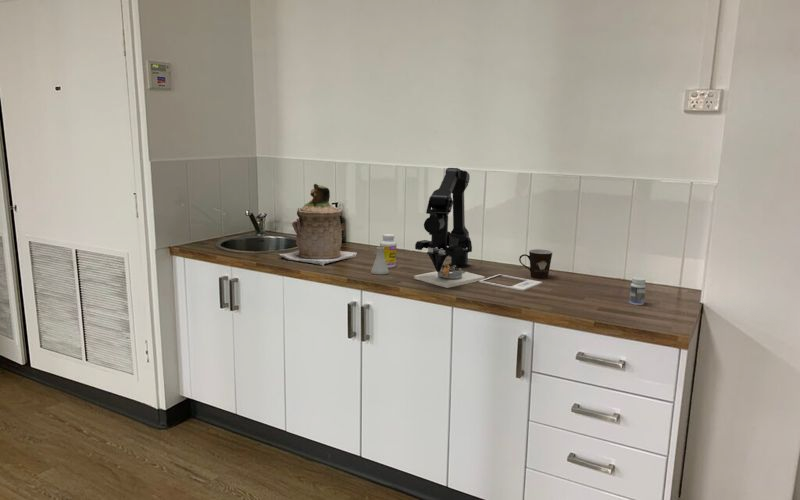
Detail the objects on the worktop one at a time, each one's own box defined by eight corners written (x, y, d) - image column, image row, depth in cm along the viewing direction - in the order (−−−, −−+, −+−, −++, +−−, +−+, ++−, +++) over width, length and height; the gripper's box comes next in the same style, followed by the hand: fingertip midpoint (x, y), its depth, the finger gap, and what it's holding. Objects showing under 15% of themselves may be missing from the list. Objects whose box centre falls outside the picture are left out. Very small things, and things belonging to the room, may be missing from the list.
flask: (387, 275, 233) (387, 249, 231) (368, 274, 235) (368, 248, 233) (391, 271, 240) (391, 246, 238) (373, 270, 242) (373, 245, 240)
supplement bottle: (389, 268, 245) (389, 236, 242) (376, 266, 249) (376, 234, 246) (399, 266, 250) (400, 234, 247) (386, 263, 254) (387, 232, 251)
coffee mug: (552, 276, 237) (554, 250, 235) (548, 280, 230) (550, 254, 228) (522, 272, 242) (524, 247, 240) (517, 277, 234) (518, 251, 232)
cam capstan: (442, 270, 236) (443, 256, 235) (466, 272, 234) (466, 258, 233) (432, 279, 222) (432, 265, 221) (457, 282, 219) (457, 267, 218)
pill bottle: (626, 301, 204) (628, 276, 202) (640, 301, 204) (642, 276, 203) (632, 305, 199) (635, 280, 198) (646, 305, 200) (649, 280, 198)
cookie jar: (359, 256, 267) (359, 182, 261) (323, 266, 246) (322, 186, 240) (315, 250, 280) (314, 179, 274) (277, 259, 259) (275, 182, 253)
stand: (451, 271, 242) (451, 265, 242) (484, 279, 230) (484, 273, 229) (414, 278, 229) (414, 272, 229) (447, 287, 217) (447, 281, 216)
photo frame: (523, 288, 215) (479, 280, 226) (522, 292, 215) (478, 283, 226) (542, 281, 226) (499, 273, 237) (542, 284, 226) (499, 276, 237)
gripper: (474, 230, 218) (472, 272, 222) (434, 223, 231) (433, 263, 234) (454, 233, 211) (452, 278, 214) (414, 226, 223) (413, 268, 227)
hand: (438, 271), depth 222 cm, fingers closed
